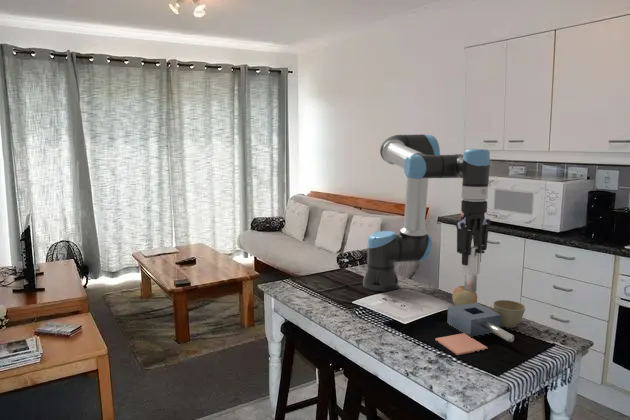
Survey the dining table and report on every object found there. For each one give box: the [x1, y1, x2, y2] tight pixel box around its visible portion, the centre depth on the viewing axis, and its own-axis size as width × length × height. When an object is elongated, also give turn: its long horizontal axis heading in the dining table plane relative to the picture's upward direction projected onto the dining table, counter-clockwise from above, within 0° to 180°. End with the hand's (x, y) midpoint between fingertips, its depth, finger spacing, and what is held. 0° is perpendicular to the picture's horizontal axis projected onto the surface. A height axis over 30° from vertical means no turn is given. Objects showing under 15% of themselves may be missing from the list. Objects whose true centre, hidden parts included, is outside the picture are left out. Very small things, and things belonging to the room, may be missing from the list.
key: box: [463, 245, 484, 293], centre depth 145 cm, size 4×7×14 cm, turn 31°
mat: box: [434, 332, 488, 356], centre depth 143 cm, size 11×11×1 cm
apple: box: [452, 285, 478, 306], centre depth 173 cm, size 9×9×8 cm
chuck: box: [446, 302, 515, 343], centre depth 150 cm, size 23×12×6 cm, turn 21°
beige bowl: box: [493, 299, 526, 329], centre depth 158 cm, size 10×10×7 cm
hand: (470, 273), depth 145 cm, fingers closed on key, 4 cm apart
